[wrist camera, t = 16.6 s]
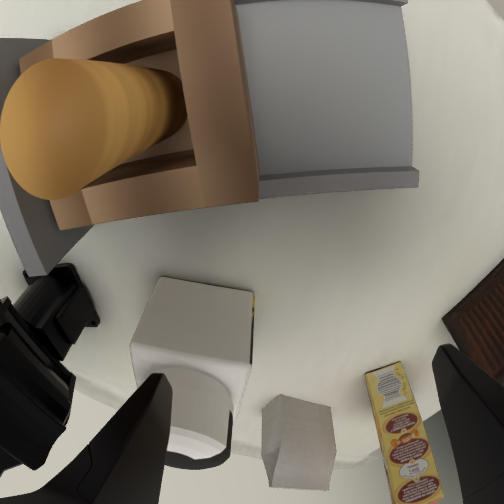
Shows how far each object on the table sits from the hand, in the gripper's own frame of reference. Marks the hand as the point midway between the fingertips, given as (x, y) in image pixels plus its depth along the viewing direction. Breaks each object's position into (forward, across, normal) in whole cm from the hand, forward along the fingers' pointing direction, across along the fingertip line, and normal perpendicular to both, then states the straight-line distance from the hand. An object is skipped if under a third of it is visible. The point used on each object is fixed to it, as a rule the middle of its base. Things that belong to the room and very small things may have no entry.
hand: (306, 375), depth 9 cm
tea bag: (+12, 0, +23) cm, 26 cm away
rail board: (+12, +2, -8) cm, 15 cm away
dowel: (+10, +6, -8) cm, 14 cm away
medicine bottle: (+12, +7, +8) cm, 16 cm away
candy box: (+12, -10, +21) cm, 26 cm away
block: (+11, +6, -8) cm, 15 cm away
